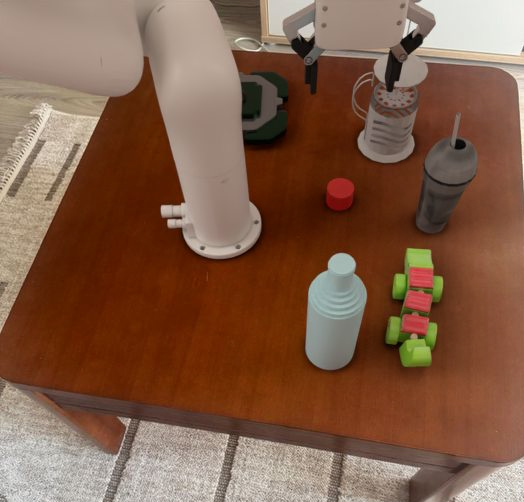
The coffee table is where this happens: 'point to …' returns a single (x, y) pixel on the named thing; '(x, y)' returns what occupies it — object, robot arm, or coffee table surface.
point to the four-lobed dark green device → (263, 107)
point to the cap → (339, 194)
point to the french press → (386, 126)
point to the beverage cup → (445, 180)
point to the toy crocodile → (415, 309)
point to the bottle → (334, 313)
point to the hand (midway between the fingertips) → (350, 86)
